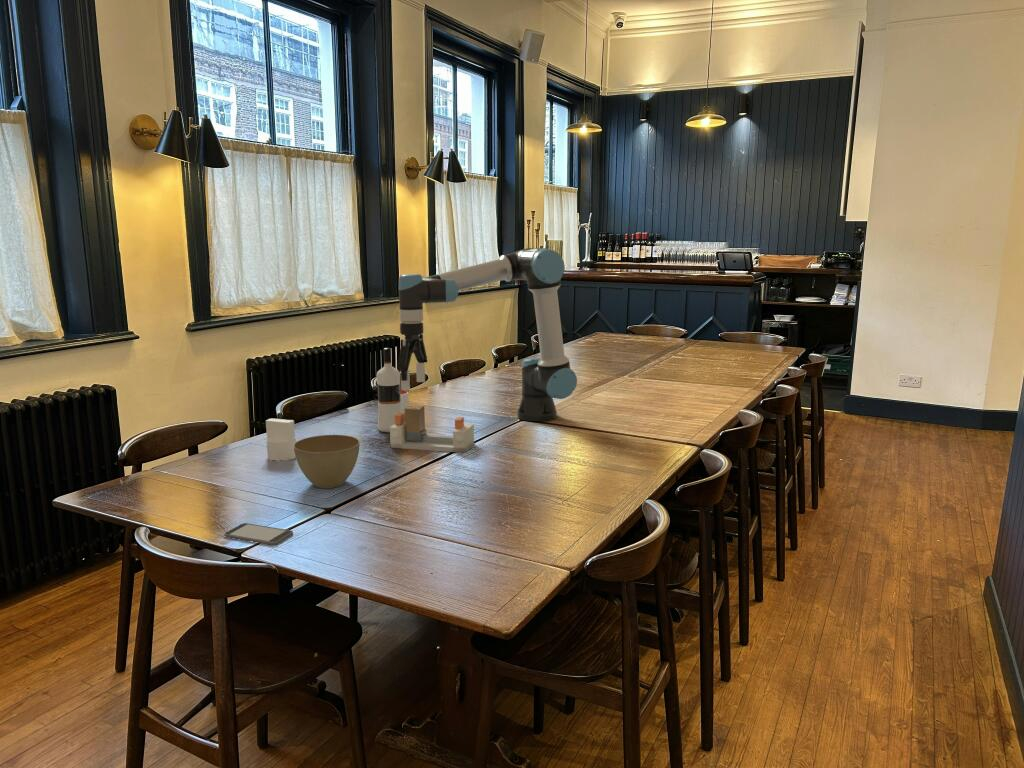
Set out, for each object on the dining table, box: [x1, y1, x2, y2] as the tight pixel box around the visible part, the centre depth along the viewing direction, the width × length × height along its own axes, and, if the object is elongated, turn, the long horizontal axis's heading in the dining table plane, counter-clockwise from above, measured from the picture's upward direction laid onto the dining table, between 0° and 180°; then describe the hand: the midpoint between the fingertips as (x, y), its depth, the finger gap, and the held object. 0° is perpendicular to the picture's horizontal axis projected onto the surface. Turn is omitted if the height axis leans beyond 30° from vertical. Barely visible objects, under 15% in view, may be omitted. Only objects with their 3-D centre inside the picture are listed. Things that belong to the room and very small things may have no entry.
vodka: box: [376, 347, 401, 434], centre depth 263 cm, size 9×9×30 cm
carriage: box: [404, 404, 427, 441], centre depth 246 cm, size 6×5×11 cm
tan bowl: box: [294, 434, 361, 489], centre depth 208 cm, size 18×18×12 cm
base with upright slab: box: [265, 418, 297, 462], centre depth 234 cm, size 9×9×12 cm
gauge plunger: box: [394, 413, 405, 425], centre depth 247 cm, size 2×4×3 cm, turn 166°
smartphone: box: [223, 522, 294, 547], centre depth 174 cm, size 7×1×15 cm
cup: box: [400, 389, 410, 413], centre depth 283 cm, size 10×10×10 cm
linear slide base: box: [389, 416, 475, 453], centre depth 245 cm, size 26×10×10 cm, turn 76°
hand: (413, 385), depth 243 cm, fingers open, 13 cm apart
